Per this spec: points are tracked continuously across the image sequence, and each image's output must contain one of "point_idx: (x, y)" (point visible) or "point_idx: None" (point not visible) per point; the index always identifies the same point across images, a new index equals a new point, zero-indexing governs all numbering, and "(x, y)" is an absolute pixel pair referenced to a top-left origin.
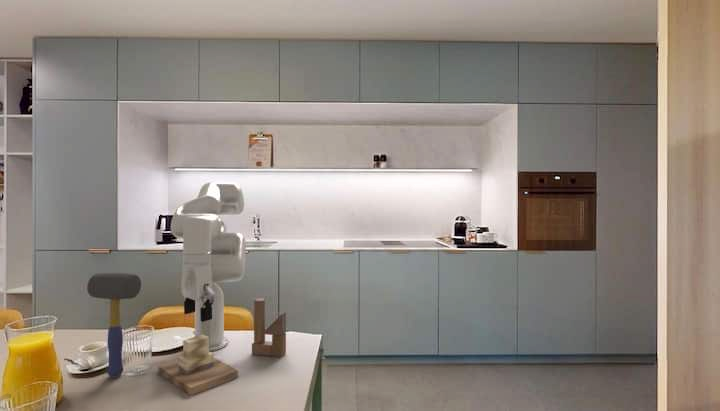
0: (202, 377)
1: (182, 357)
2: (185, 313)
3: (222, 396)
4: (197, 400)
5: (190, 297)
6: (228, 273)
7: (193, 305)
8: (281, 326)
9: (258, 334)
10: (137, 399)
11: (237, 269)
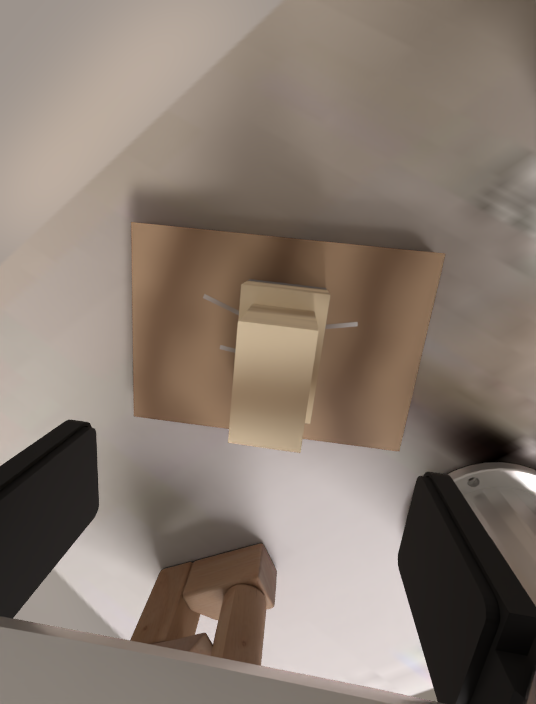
0: (179, 303)
1: (313, 306)
2: (427, 476)
3: (59, 288)
4: (94, 218)
5: (9, 664)
6: None
7: (423, 617)
8: None
9: (223, 625)
10: (277, 66)
11: None
